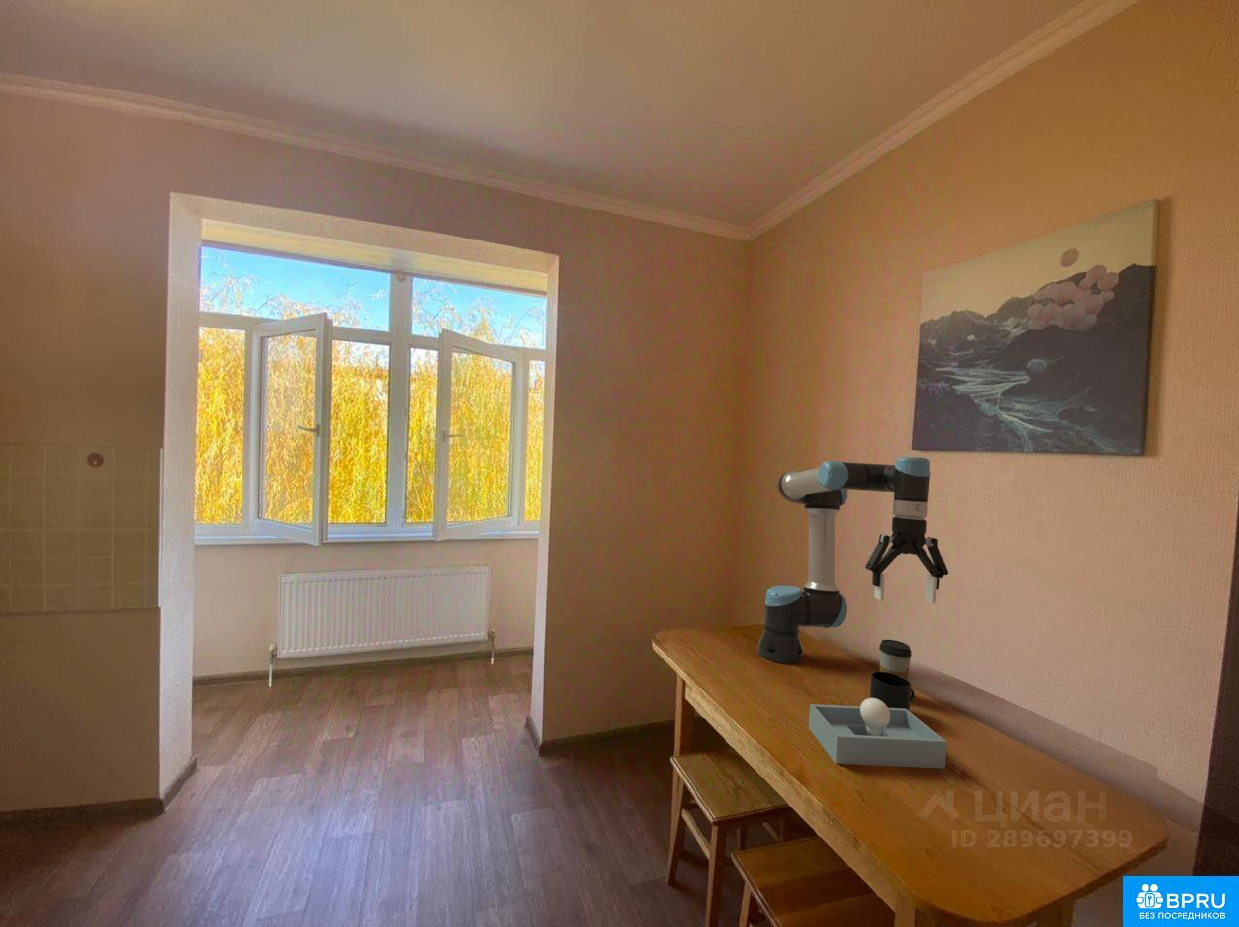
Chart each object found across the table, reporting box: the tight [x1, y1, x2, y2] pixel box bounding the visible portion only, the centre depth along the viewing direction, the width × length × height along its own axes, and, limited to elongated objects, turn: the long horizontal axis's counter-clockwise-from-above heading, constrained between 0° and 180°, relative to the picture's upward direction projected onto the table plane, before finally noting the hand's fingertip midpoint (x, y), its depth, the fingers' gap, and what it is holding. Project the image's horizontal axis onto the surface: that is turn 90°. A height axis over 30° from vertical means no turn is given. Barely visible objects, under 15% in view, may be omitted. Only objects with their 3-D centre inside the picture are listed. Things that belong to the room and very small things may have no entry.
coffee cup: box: [878, 639, 912, 681], centre depth 138 cm, size 8×8×15 cm
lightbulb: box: [860, 697, 890, 736], centre depth 111 cm, size 6×6×11 cm
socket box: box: [808, 703, 947, 770], centre depth 111 cm, size 14×24×6 cm, turn 91°
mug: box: [869, 671, 916, 712], centre depth 128 cm, size 9×12×9 cm
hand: (904, 600), depth 120 cm, fingers open, 13 cm apart
